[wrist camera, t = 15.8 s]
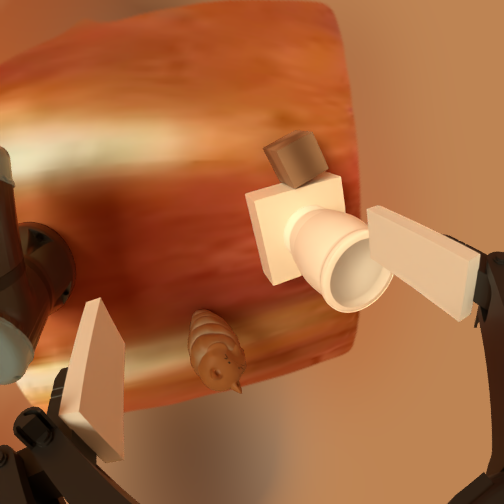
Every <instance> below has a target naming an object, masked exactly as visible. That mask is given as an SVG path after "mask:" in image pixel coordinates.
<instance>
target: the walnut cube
mask: <svg viewBox="0 0 504 504" xmlns="http://www.w3.org/2000/svg"><path fill="white" fill-rule="evenodd" d="M263 150H264V152H265V154H266V156H267V157H268V159H269V161H270V163H271V165H272V167H273V169H274V171H275V173H276V175H277V177H278V179H279V181H280V182H282V183H284V184H286V185H288V186H290V187H292V188H294V189H295V188H297V187H299V186H300V185H302V184H304V183H305V182H307V181H309V180H311V179H312V178H314V177H316V176H317V175H319V174H321V173H322V172H324V171H326V170H327V169H329V168H328V166H327V163H326V161H325V159H324V156H323V154H322V152H321V150H320V147H319V145H318V143H317V141H316V139H315V136H314V134H313V132H309V131H296V130H295V131H293V132H291V133H290V134H288V135H286V136H284V137H282V138H280V139H279V140H277V141H275V142H273V143H271V144H269V145H268V146H266V147H264V148H263Z"/></svg>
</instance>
